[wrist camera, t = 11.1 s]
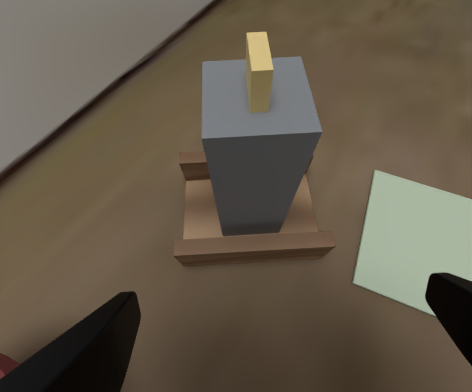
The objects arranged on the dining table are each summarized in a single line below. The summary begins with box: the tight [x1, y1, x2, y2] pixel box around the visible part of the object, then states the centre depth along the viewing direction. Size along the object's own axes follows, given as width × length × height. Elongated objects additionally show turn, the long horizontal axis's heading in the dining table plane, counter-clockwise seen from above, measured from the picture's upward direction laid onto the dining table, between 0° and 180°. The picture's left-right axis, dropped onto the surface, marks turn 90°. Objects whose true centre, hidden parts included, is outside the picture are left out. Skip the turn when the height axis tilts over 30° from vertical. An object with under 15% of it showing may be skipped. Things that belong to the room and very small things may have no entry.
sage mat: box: [352, 170, 472, 317], centre depth 22 cm, size 12×9×1 cm
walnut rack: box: [173, 151, 336, 266], centre depth 22 cm, size 9×12×4 cm
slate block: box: [202, 32, 322, 236], centre depth 16 cm, size 5×5×15 cm
